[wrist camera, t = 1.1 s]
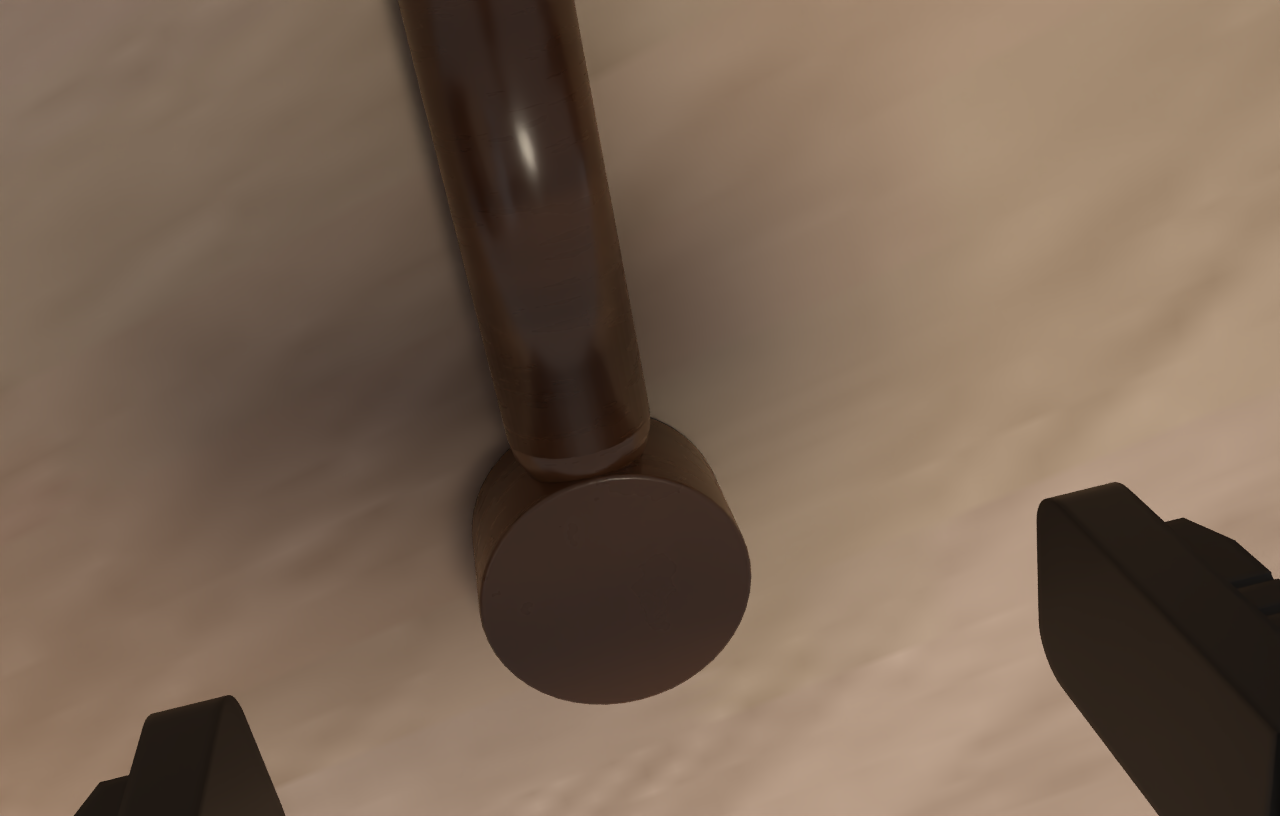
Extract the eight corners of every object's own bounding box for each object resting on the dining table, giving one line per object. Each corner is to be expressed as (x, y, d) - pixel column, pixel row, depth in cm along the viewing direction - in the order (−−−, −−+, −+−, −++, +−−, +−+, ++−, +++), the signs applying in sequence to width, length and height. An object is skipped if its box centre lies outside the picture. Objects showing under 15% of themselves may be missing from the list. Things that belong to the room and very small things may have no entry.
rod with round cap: (271, -183, 18) (251, -181, 16) (600, -245, 19) (627, -251, 16) (502, 649, 25) (512, 733, 23) (734, 592, 26) (767, 669, 24)
